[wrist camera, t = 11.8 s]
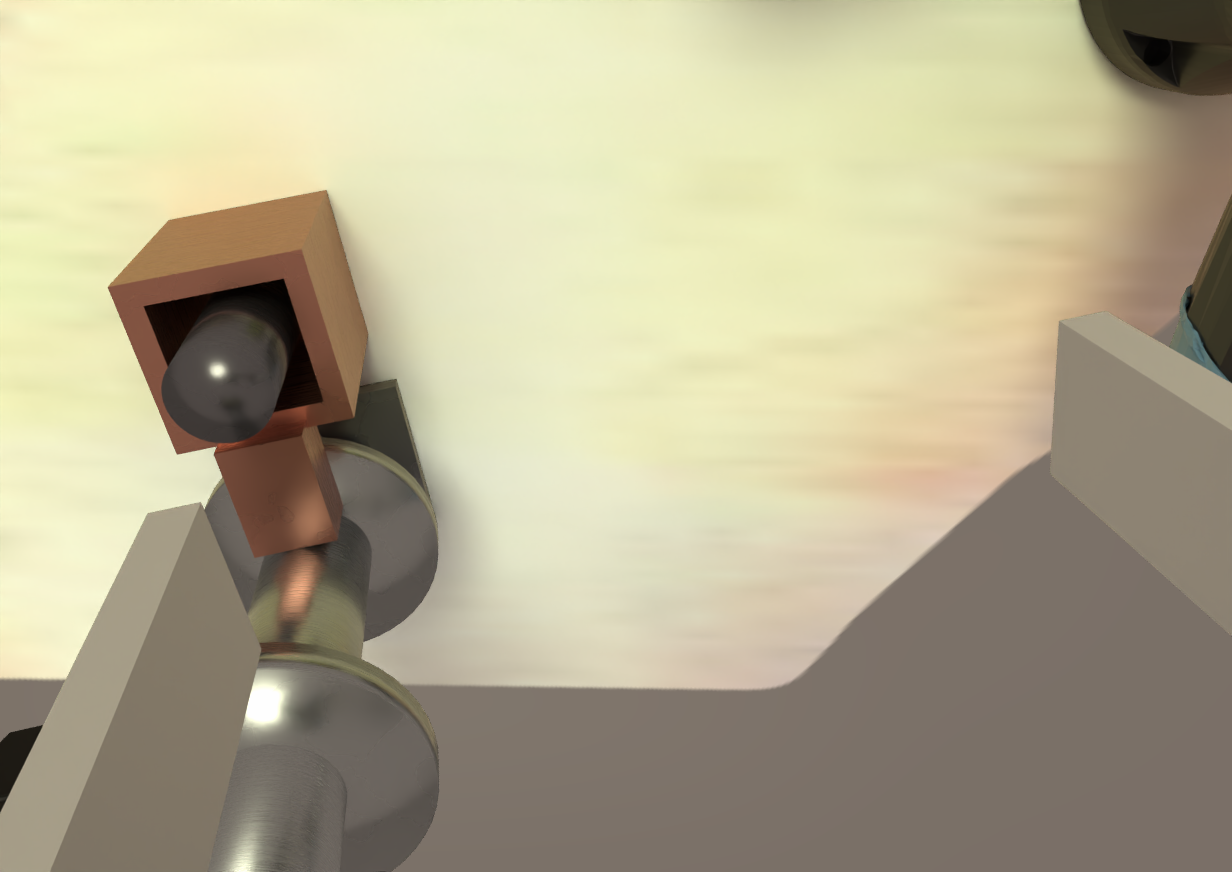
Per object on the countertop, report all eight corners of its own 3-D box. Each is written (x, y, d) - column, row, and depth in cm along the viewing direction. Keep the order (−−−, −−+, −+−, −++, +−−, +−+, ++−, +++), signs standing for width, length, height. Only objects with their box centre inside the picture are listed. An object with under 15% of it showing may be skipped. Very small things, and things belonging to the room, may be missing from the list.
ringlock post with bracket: (362, 183, 48) (279, 472, 23) (457, 531, 58) (474, 1012, 32) (131, 227, 47) (-225, 578, 22) (266, 573, 57) (128, 1099, 31)
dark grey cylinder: (301, 231, 49) (255, 335, 36) (325, 308, 51) (289, 431, 38) (218, 247, 49) (144, 357, 36) (245, 323, 50) (184, 453, 38)
